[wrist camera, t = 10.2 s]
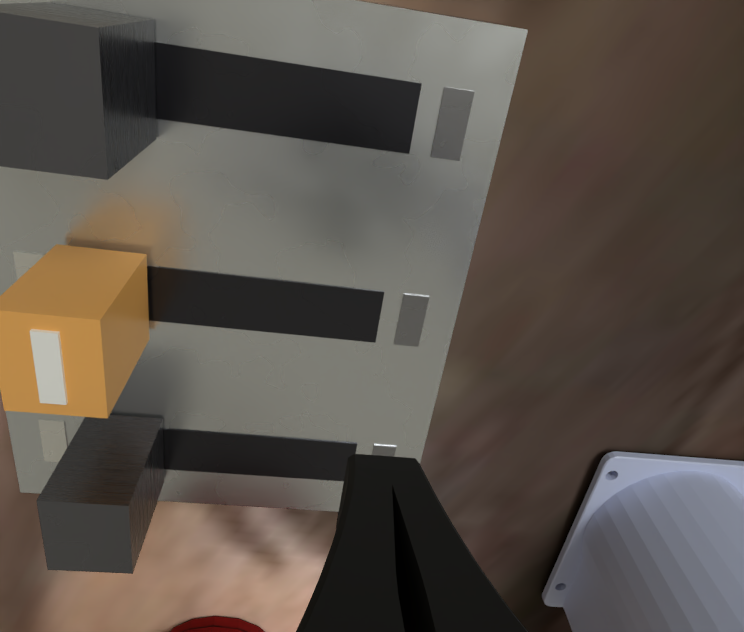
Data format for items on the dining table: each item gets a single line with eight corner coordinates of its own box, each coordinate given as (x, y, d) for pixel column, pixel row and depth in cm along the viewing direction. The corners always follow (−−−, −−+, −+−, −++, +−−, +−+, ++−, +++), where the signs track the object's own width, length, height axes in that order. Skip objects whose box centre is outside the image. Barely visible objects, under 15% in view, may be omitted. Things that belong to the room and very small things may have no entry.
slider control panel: (401, 478, 24) (420, 608, 19) (44, 453, 23) (-41, 589, 17) (506, 25, 16) (587, 41, 11) (-33, -67, 15) (-233, -99, 9)
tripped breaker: (149, 339, 18) (106, 421, 14) (66, 331, 18) (2, 413, 14) (146, 254, 16) (98, 322, 13) (56, 244, 16) (-17, 311, 13)
